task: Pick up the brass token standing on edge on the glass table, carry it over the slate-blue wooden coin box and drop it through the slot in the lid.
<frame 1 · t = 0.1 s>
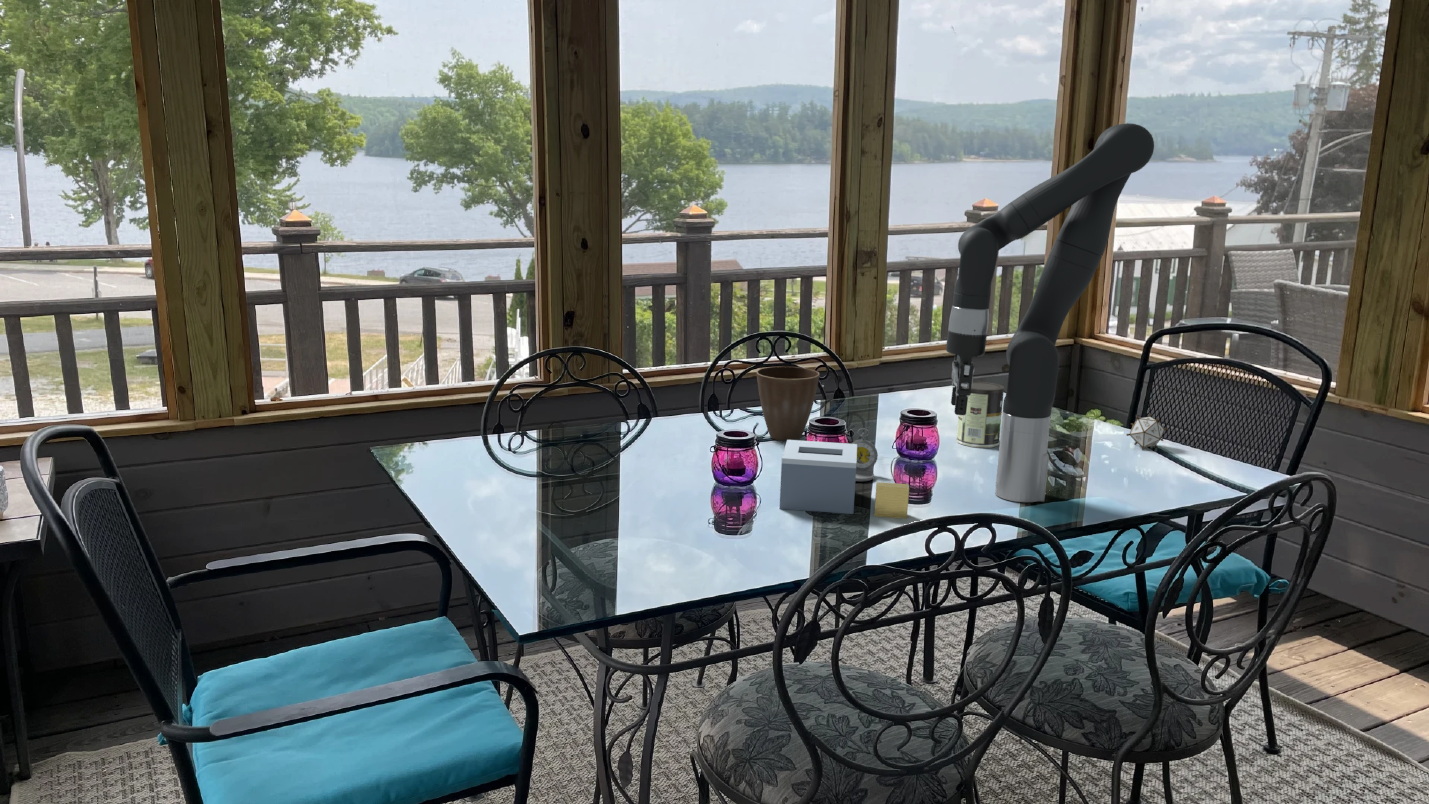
hand: (958, 409, 212), 17 cm above the table, tool pointing down, fingers open, 8 cm apart
pocket watch: (859, 477, 224), on the table
plant pot: (784, 438, 254), on the table
coin box: (817, 500, 208), on the table
coffee can: (977, 443, 255), on the table
game die: (1144, 448, 255), on the table
token: (890, 515, 200), on the table
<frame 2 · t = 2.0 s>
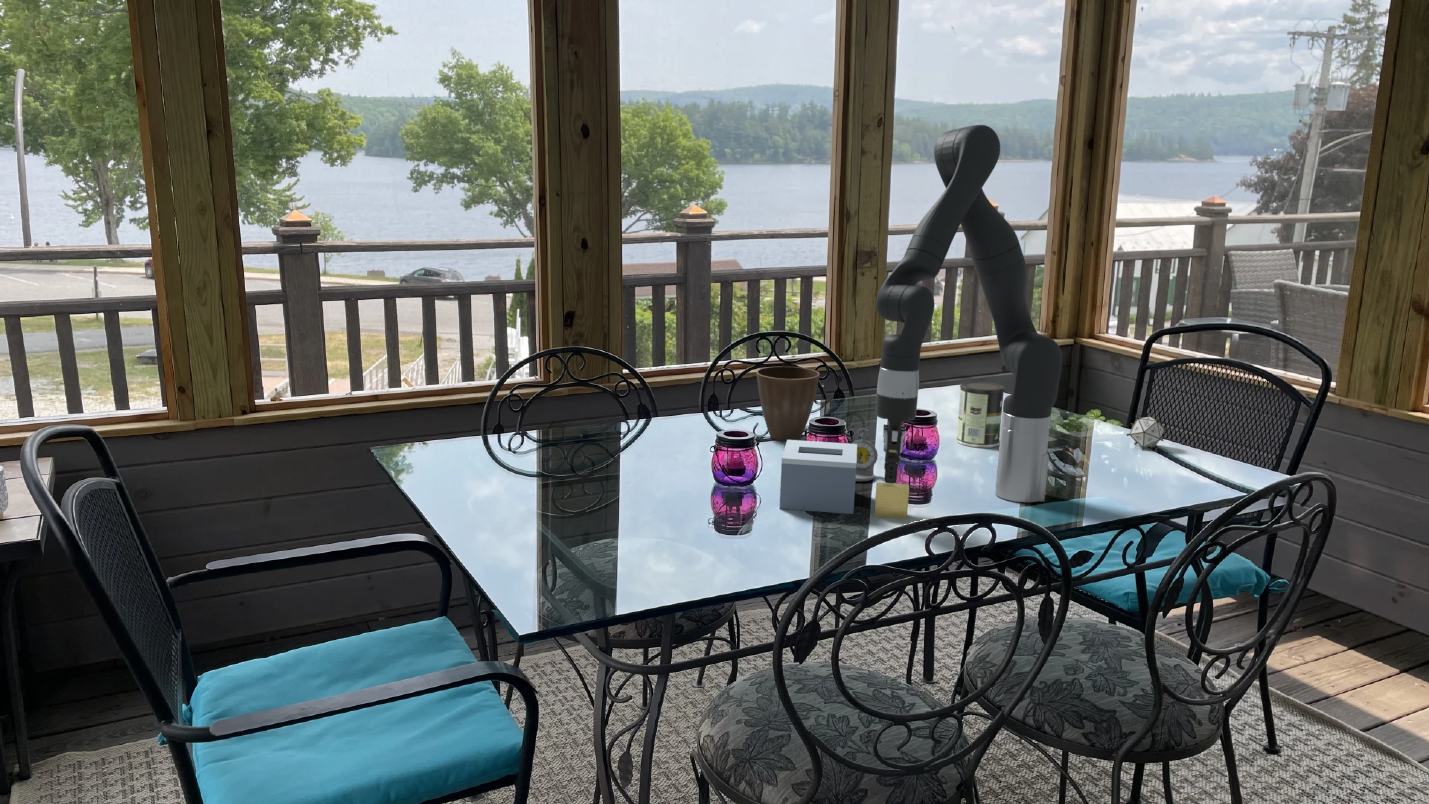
hand: (890, 476, 199), 8 cm above the table, tool pointing down, fingers open, 8 cm apart
nothing on the table moved.
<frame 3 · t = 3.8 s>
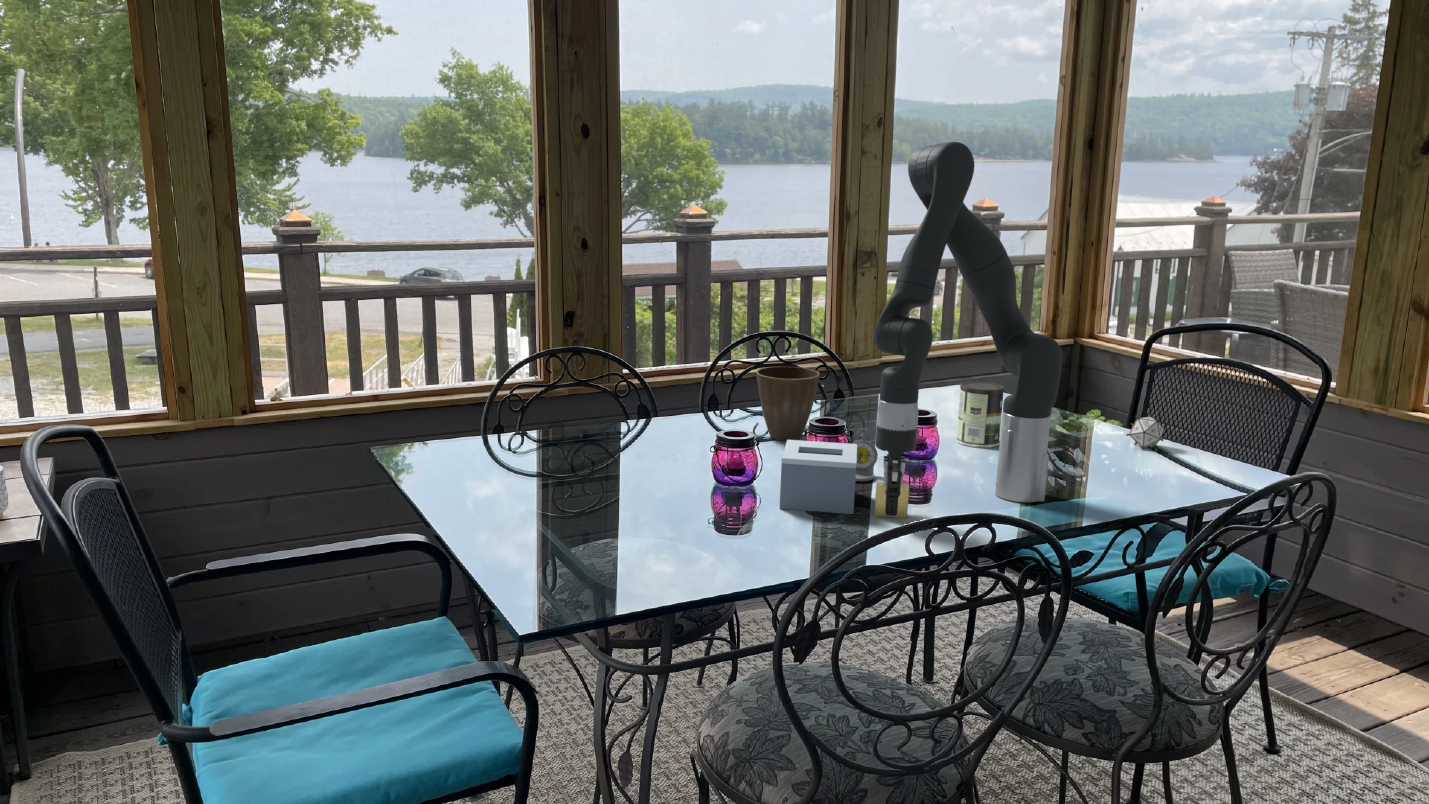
hand: (890, 512, 200), 1 cm above the table, tool pointing down, fingers closed on token, 2 cm apart
token: (890, 515, 200), on the table, touching gripper
everything else where it was.
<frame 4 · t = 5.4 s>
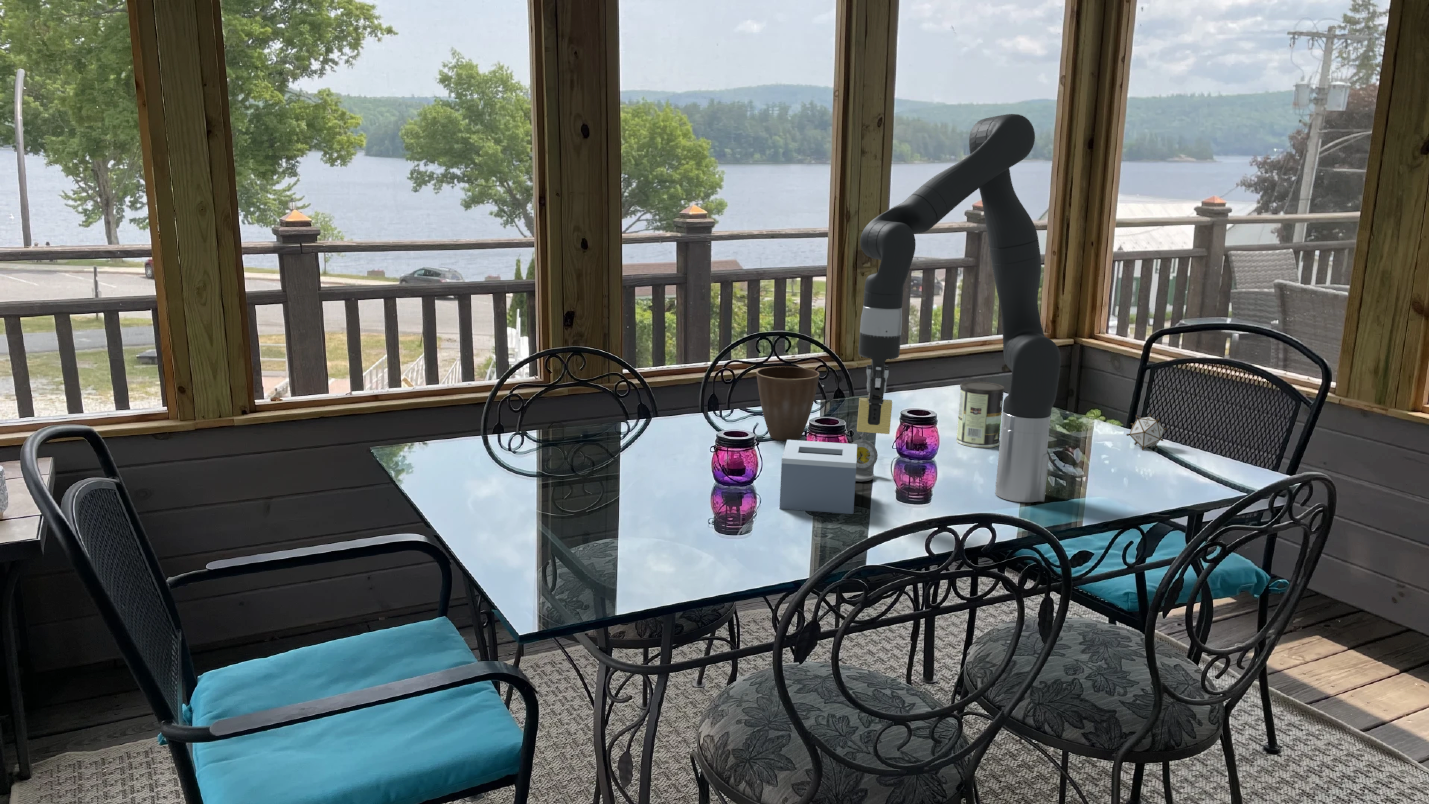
hand: (873, 422, 198), 17 cm above the table, tool pointing down, fingers closed on token
token: (872, 431, 198), point 16 cm above the table, touching gripper
everything else where it was.
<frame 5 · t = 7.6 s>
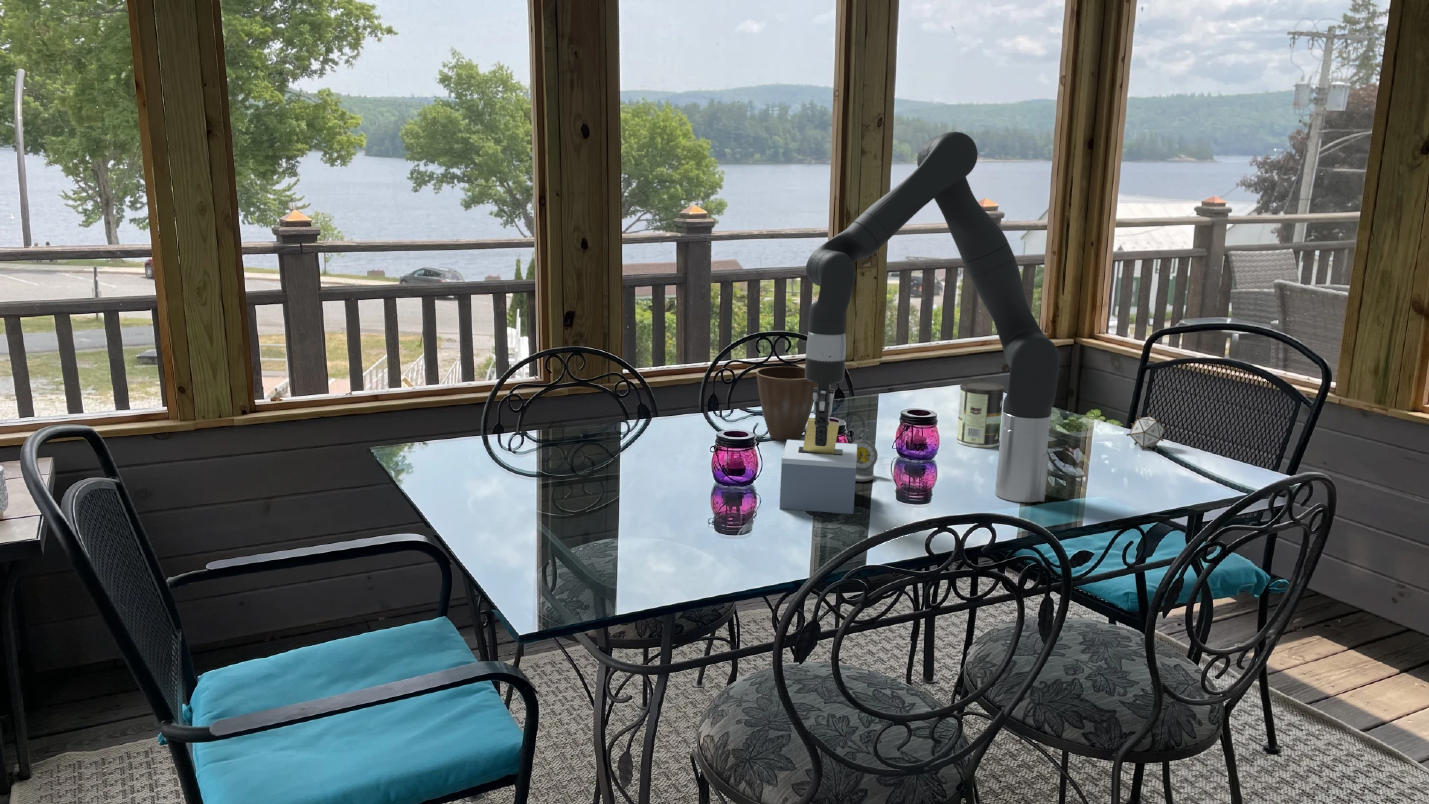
hand: (821, 443, 205), 12 cm above the table, tool pointing down, fingers closed on token, 2 cm apart
token: (818, 451, 205), point 10 cm above the table, tilted 7°, touching gripper
everything else where it was.
when the fingers open (12 cm above the table, at t = 7.6 s): token drops 9 cm, resting on coin box.
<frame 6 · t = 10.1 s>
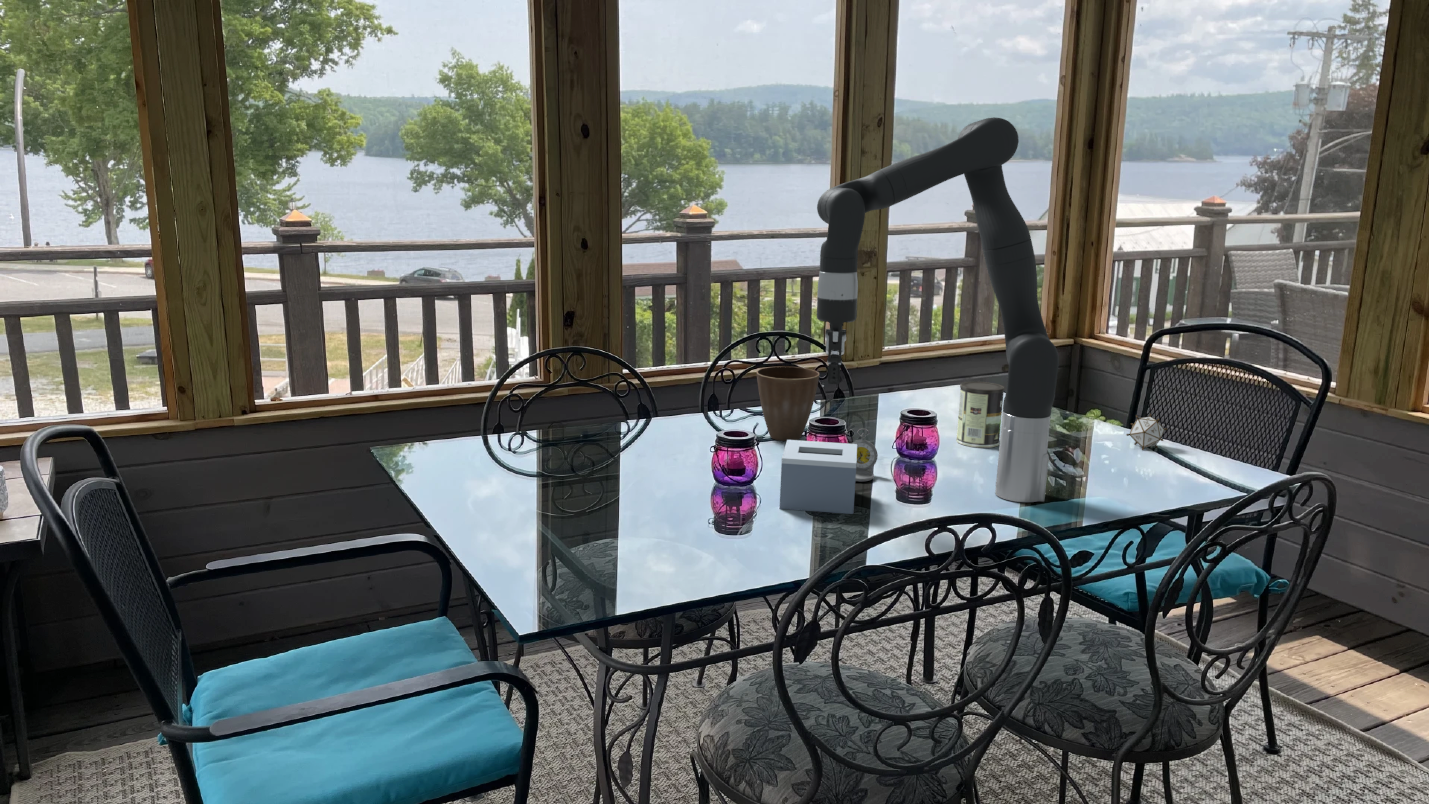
hand: (834, 379, 203), 24 cm above the table, tool pointing down, fingers open, 8 cm apart
token: (815, 497, 207), resting on coin box
everything else where it was.
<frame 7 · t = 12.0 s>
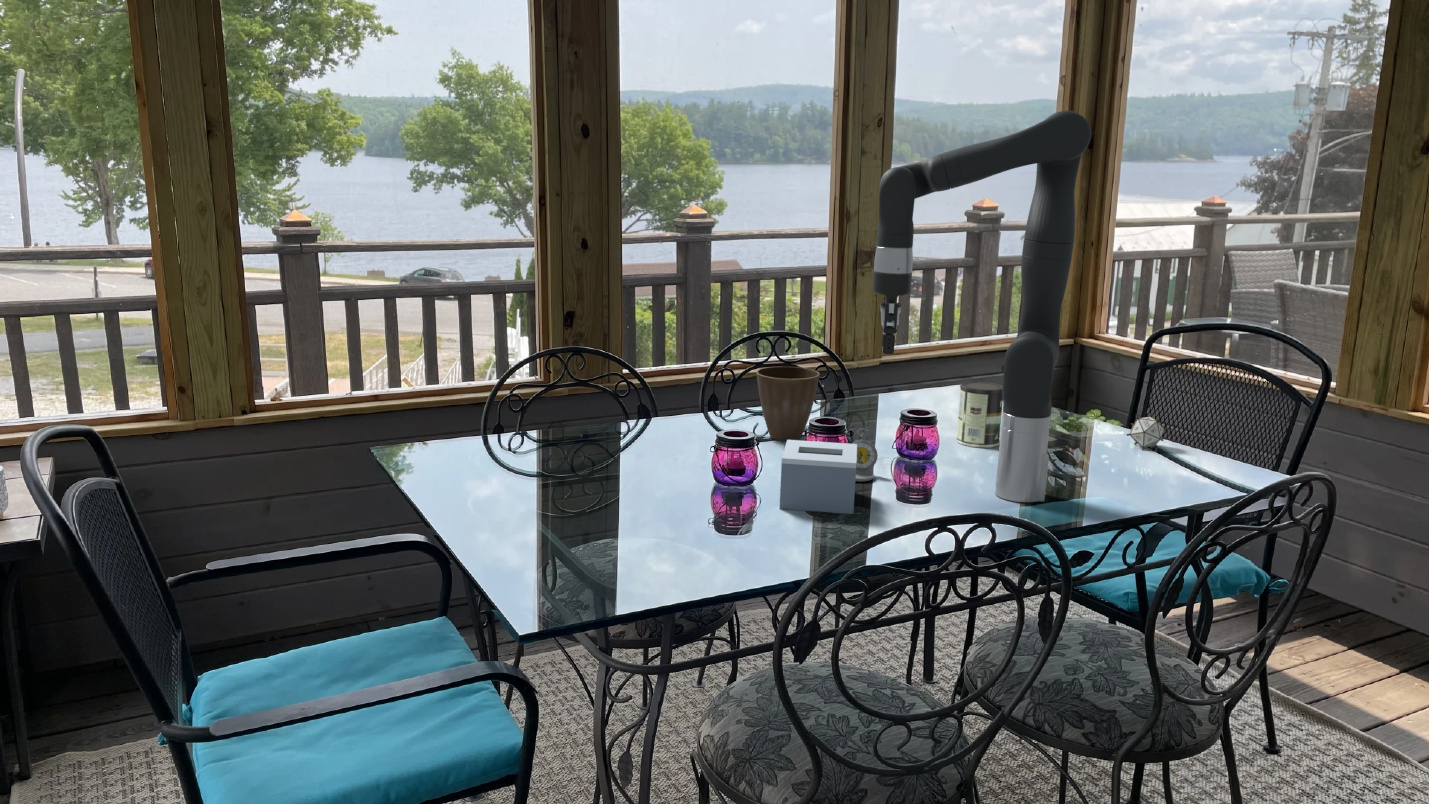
hand: (887, 350, 213), 28 cm above the table, tool pointing down, fingers open, 8 cm apart
nothing on the table moved.
at the end: token inside the target area on the coin box (0.4 cm from its centre), point 0.5 cm above the coin box's base; the gripper is holding nothing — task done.
